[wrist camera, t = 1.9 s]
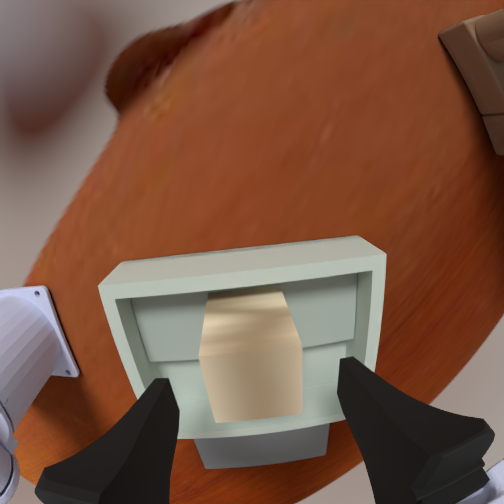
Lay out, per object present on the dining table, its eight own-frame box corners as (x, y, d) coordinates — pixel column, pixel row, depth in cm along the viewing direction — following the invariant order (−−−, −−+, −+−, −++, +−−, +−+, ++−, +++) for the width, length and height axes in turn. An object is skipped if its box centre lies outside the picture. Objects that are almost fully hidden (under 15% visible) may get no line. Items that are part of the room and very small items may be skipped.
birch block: (218, 351, 18) (215, 422, 12) (208, 292, 17) (198, 356, 11) (283, 344, 18) (302, 413, 12) (279, 285, 17) (302, 344, 11)
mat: (205, 465, 24) (205, 468, 24) (187, 417, 22) (186, 421, 22) (324, 452, 25) (325, 454, 24) (330, 401, 23) (331, 404, 22)
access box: (163, 402, 22) (155, 438, 18) (121, 261, 18) (97, 285, 14) (349, 380, 22) (366, 414, 18) (357, 235, 19) (386, 253, 15)
